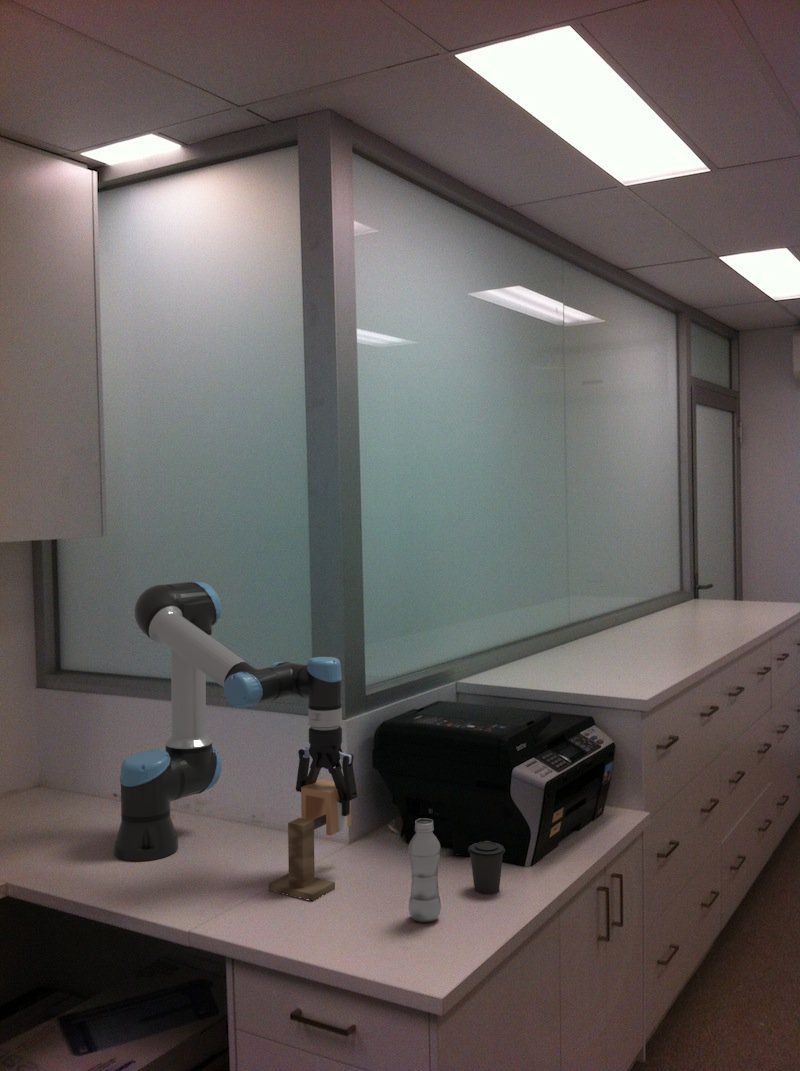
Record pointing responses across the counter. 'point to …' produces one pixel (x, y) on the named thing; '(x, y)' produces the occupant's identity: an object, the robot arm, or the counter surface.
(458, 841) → the battery
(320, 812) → the tan square cardboard-colored block
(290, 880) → the hook stand
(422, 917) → the plastic bottle
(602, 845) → the counter surface
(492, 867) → the coffee cup
